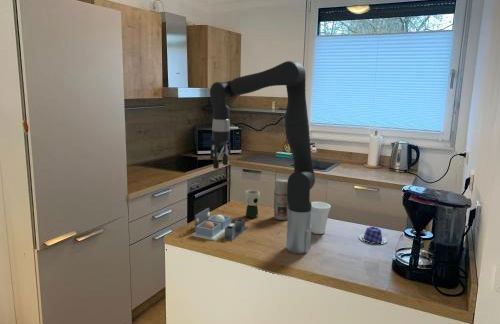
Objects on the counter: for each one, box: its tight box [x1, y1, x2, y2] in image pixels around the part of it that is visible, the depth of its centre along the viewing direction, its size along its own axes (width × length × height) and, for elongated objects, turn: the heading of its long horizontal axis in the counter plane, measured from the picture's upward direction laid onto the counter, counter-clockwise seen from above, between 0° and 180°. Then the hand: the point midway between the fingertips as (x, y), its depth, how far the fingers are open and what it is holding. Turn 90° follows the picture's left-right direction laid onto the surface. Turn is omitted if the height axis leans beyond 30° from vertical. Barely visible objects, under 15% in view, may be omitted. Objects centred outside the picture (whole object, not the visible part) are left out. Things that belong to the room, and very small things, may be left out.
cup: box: [310, 201, 332, 235], centre depth 179 cm, size 10×10×13 cm
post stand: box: [221, 218, 248, 242], centre depth 176 cm, size 5×16×5 cm, turn 157°
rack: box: [191, 213, 235, 241], centre depth 179 cm, size 11×20×4 cm, turn 157°
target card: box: [194, 207, 211, 233], centre depth 181 cm, size 1×13×8 cm, turn 157°
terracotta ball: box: [203, 222, 214, 229], centre depth 174 cm, size 5×5×5 cm
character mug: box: [244, 189, 261, 218], centre depth 197 cm, size 11×7×13 cm, turn 149°
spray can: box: [273, 178, 288, 221], centre depth 196 cm, size 8×8×20 cm
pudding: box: [358, 226, 388, 245], centre depth 174 cm, size 12×12×5 cm
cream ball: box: [214, 214, 225, 222], centre depth 183 cm, size 5×5×5 cm
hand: (220, 166), depth 172 cm, fingers open, 8 cm apart
